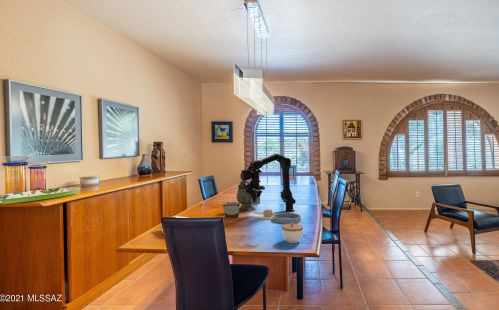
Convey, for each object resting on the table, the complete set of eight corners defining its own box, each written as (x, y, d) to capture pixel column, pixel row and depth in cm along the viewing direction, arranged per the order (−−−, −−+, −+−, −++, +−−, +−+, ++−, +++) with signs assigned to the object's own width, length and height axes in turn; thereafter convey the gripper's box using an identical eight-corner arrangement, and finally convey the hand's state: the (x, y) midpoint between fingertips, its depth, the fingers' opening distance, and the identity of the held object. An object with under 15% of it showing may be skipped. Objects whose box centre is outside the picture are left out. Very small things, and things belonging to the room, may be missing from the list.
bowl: (279, 216, 211) (279, 211, 211) (304, 218, 202) (304, 214, 202) (268, 222, 195) (268, 217, 195) (295, 225, 186) (295, 220, 186)
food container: (241, 216, 213) (241, 201, 213) (240, 218, 207) (240, 203, 207) (224, 216, 215) (224, 202, 214) (222, 218, 209) (222, 203, 208)
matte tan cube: (266, 215, 211) (266, 209, 211) (272, 216, 209) (272, 209, 209) (263, 217, 207) (263, 210, 207) (269, 217, 205) (269, 211, 205)
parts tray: (254, 213, 221) (253, 211, 221) (278, 215, 212) (278, 213, 212) (245, 217, 209) (245, 215, 209) (270, 220, 200) (270, 217, 200)
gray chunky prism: (254, 203, 215) (254, 196, 215) (260, 203, 213) (259, 197, 213) (251, 204, 211) (251, 197, 211) (257, 204, 209) (257, 198, 209)
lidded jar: (280, 238, 160) (279, 220, 160) (300, 237, 161) (299, 220, 161) (284, 245, 150) (283, 226, 150) (305, 244, 151) (305, 225, 150)
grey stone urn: (253, 212, 225) (253, 178, 224) (235, 211, 228) (234, 178, 227) (257, 208, 239) (256, 176, 238) (239, 208, 241) (238, 176, 241)
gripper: (251, 177, 224) (251, 198, 224) (238, 180, 207) (239, 203, 208) (265, 178, 218) (265, 199, 219) (253, 180, 202) (253, 204, 202)
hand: (255, 201), depth 212 cm, fingers closed on gray chunky prism, 4 cm apart
